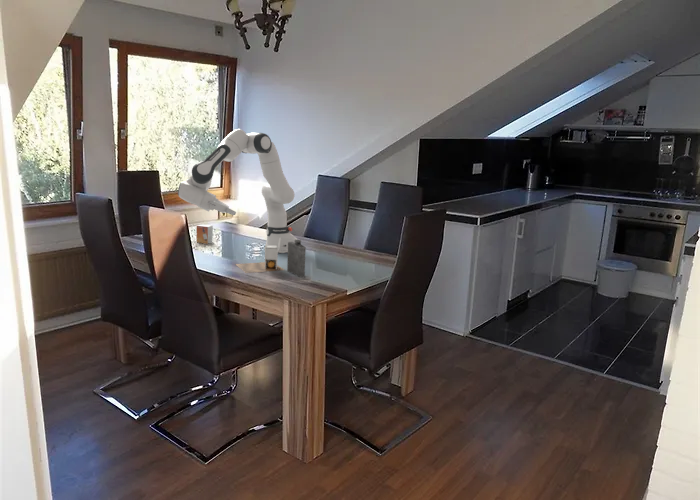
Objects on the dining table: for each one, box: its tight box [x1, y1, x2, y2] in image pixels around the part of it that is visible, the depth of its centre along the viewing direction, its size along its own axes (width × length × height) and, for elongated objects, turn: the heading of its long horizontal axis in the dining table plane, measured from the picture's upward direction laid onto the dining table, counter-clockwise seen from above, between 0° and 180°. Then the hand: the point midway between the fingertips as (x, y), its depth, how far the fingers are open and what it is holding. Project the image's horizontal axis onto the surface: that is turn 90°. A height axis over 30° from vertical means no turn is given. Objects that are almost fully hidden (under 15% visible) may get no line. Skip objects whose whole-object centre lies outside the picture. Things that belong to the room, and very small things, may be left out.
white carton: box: [264, 244, 279, 269], centre depth 273 cm, size 6×6×11 cm
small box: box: [195, 224, 214, 245], centre depth 328 cm, size 8×6×10 cm
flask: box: [286, 239, 306, 278], centre depth 264 cm, size 4×14×18 cm, turn 35°
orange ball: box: [268, 261, 275, 268], centre depth 274 cm, size 4×4×4 cm
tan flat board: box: [234, 261, 285, 274], centre depth 275 cm, size 20×18×1 cm
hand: (235, 213), depth 273 cm, fingers open, 8 cm apart
